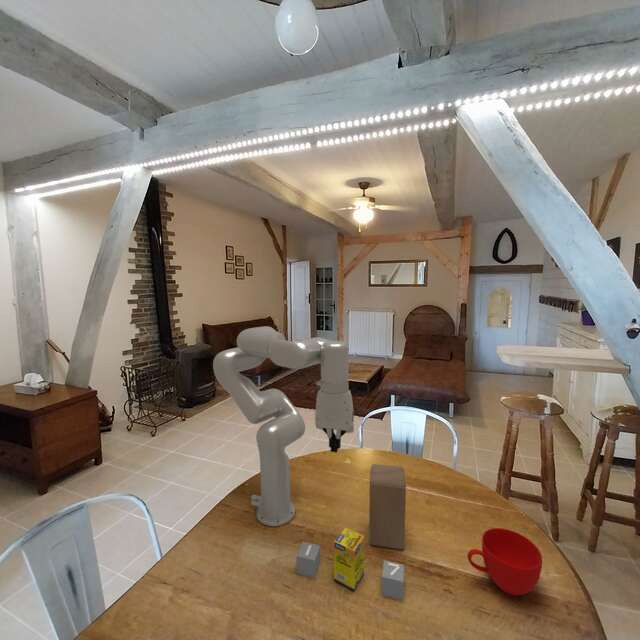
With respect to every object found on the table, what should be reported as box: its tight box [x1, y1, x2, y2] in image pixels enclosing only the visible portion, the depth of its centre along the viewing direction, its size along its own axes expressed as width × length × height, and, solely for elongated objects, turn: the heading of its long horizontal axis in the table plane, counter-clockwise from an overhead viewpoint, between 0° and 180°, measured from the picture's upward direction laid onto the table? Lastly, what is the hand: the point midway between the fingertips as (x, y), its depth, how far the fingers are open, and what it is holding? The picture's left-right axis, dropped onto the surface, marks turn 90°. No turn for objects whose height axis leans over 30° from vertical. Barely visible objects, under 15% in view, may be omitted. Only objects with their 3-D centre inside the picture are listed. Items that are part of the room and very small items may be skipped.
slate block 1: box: [295, 541, 321, 579], centre depth 87 cm, size 5×5×5 cm
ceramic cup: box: [467, 527, 543, 597], centre depth 82 cm, size 13×17×10 cm
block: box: [368, 463, 407, 550], centre depth 97 cm, size 10×10×20 cm
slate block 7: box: [381, 559, 405, 601], centre depth 81 cm, size 5×5×5 cm
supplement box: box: [333, 527, 365, 592], centre depth 84 cm, size 6×6×11 cm
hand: (334, 449), depth 92 cm, fingers closed
